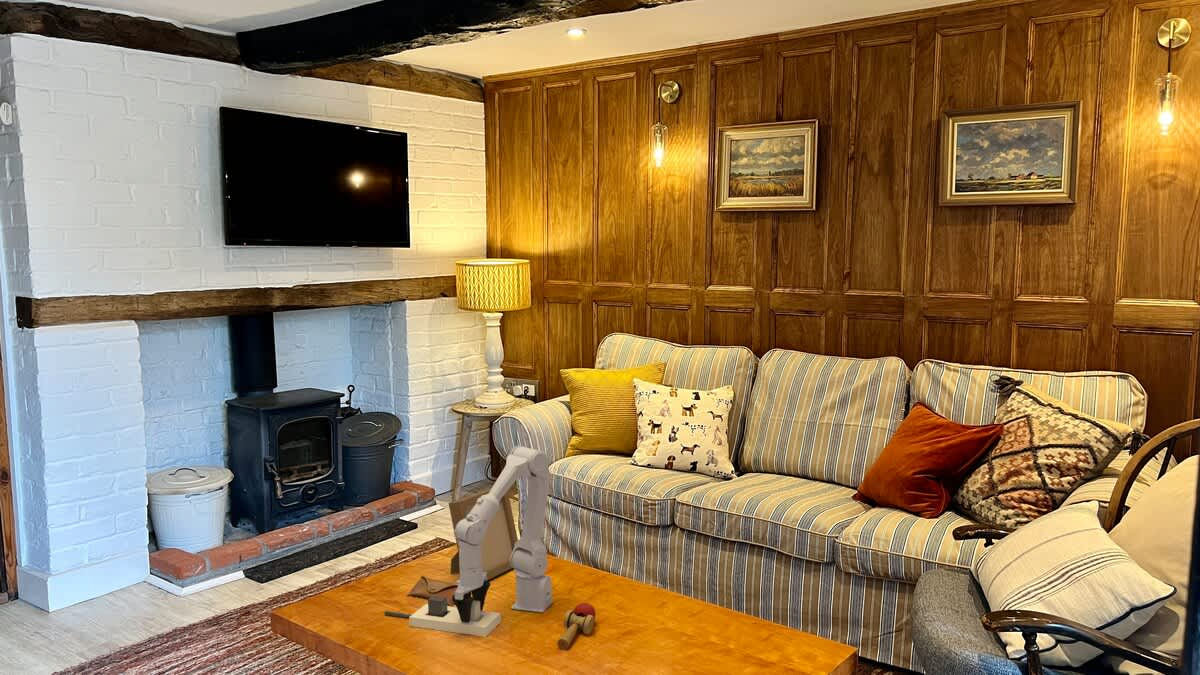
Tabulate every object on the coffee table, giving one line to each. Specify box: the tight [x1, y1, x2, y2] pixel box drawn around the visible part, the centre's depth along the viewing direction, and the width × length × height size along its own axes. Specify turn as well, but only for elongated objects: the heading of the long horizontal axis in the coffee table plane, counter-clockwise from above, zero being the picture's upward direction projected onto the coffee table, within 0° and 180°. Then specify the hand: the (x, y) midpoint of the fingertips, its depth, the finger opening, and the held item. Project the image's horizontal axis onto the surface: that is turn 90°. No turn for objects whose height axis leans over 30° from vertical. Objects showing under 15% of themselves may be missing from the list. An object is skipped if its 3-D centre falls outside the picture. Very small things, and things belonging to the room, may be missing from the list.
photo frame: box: [448, 487, 519, 582], centre depth 267 cm, size 15×22×25 cm
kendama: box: [556, 602, 596, 650], centre depth 224 cm, size 8×6×18 cm
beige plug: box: [470, 600, 481, 622], centre depth 229 cm, size 4×3×6 cm
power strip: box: [384, 595, 502, 638], centre depth 232 cm, size 32×9×6 cm, turn 72°
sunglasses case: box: [406, 575, 472, 607], centre depth 250 cm, size 18×7×7 cm, turn 62°
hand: (472, 615), depth 229 cm, fingers open, 7 cm apart
